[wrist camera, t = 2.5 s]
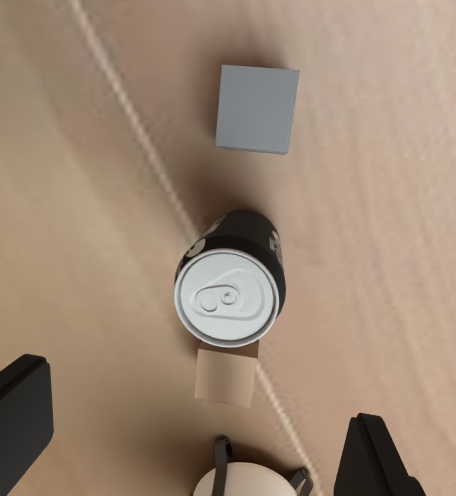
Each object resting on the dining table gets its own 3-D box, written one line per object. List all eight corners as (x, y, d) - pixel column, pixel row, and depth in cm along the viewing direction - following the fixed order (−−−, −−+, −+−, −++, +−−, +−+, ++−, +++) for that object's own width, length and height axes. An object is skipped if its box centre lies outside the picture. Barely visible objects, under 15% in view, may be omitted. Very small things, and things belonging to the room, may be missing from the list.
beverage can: (287, 270, 28) (299, 343, 17) (219, 285, 29) (186, 362, 18) (270, 200, 27) (270, 227, 15) (199, 219, 28) (149, 257, 16)
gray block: (293, 88, 24) (299, 70, 19) (284, 154, 26) (287, 152, 21) (230, 83, 25) (221, 64, 20) (225, 148, 26) (215, 145, 21)
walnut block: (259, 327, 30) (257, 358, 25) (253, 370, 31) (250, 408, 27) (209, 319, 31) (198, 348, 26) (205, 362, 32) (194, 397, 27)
